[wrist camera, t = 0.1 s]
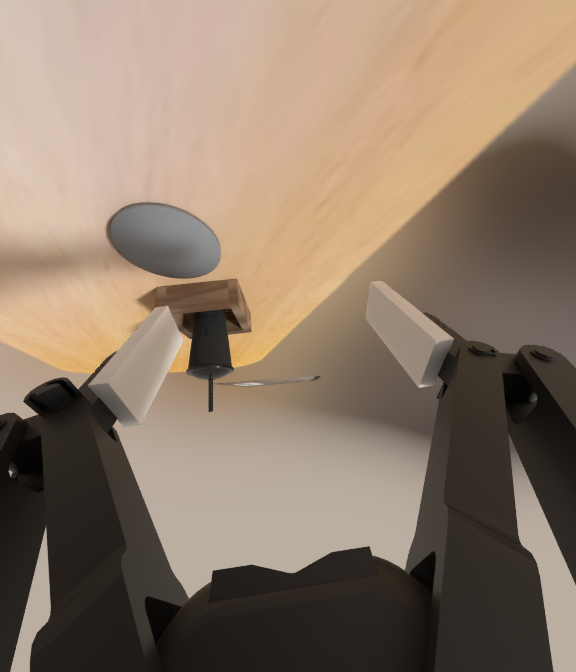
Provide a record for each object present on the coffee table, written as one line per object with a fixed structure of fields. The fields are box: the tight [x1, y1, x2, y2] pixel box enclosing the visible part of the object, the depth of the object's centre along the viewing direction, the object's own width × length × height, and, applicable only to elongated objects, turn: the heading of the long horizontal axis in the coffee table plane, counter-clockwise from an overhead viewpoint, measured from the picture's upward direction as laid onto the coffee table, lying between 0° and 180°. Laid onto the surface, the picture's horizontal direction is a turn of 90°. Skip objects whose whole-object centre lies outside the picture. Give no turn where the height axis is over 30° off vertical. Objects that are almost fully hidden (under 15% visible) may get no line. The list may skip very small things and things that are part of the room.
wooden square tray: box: [155, 279, 251, 339], centre depth 41 cm, size 13×13×4 cm
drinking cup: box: [186, 309, 234, 412], centre depth 39 cm, size 8×8×20 cm
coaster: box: [110, 203, 220, 279], centre depth 28 cm, size 12×12×1 cm
